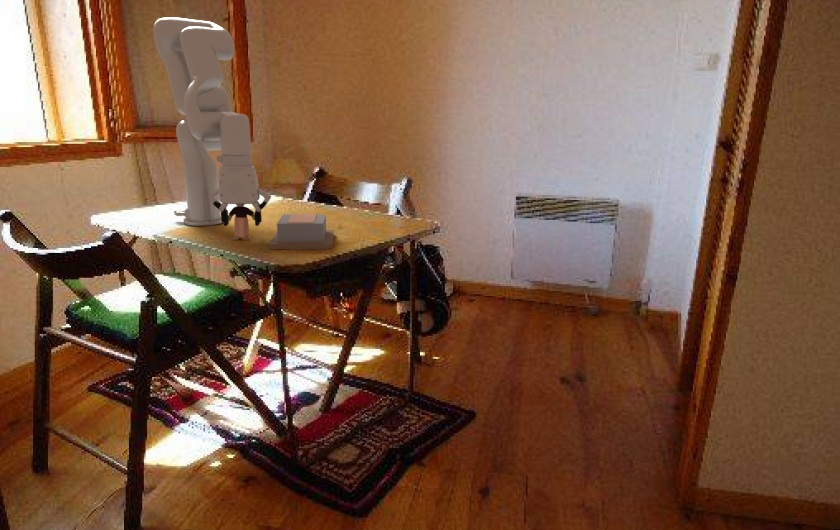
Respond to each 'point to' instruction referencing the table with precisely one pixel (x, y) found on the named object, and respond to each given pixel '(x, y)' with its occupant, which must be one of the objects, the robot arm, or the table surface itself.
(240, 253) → the table surface
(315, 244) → the plinth
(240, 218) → the grandmother figurine
